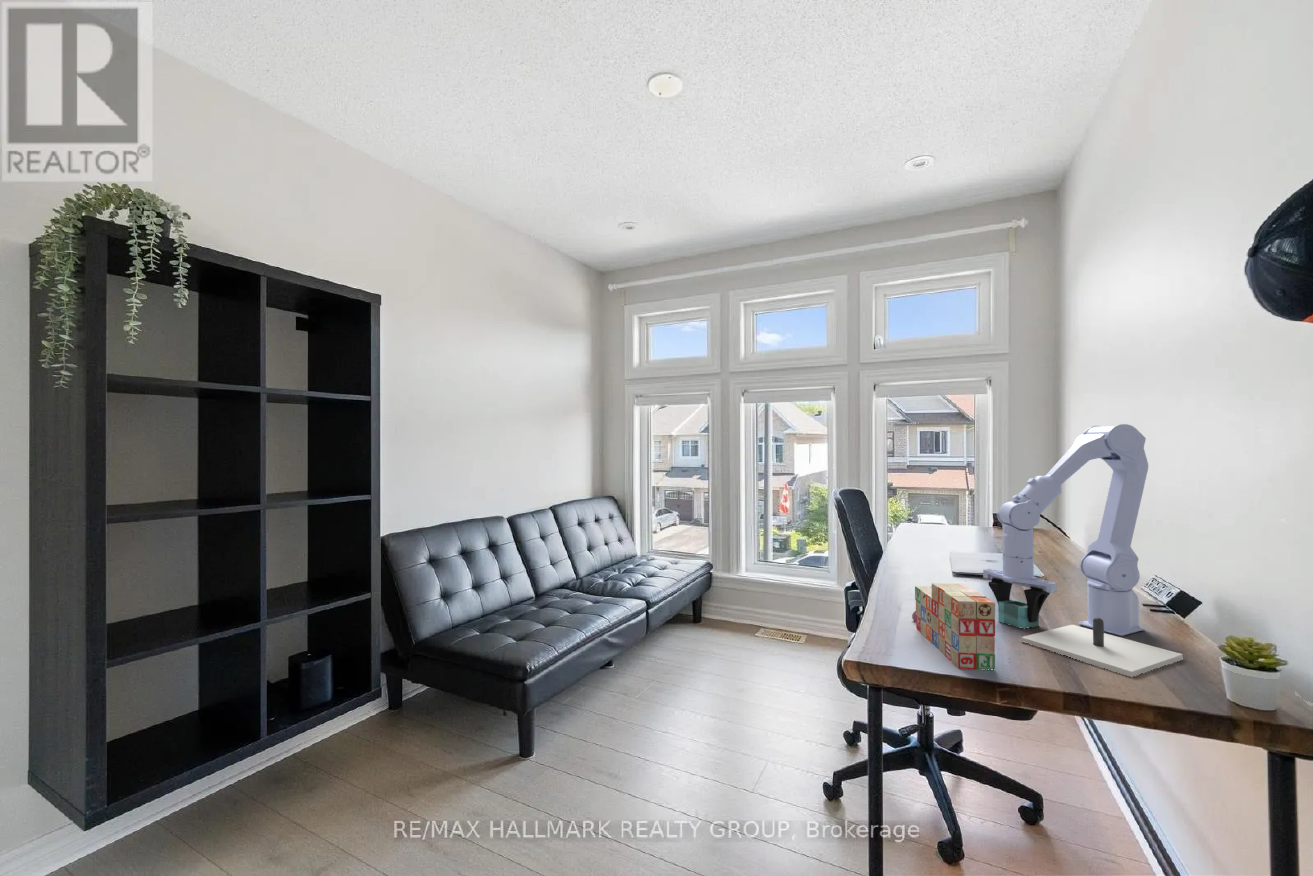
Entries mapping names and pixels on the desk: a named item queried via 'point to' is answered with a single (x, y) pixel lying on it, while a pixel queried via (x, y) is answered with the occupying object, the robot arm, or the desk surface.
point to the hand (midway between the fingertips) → (1018, 617)
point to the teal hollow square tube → (1015, 613)
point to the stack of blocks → (958, 623)
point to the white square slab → (1103, 649)
